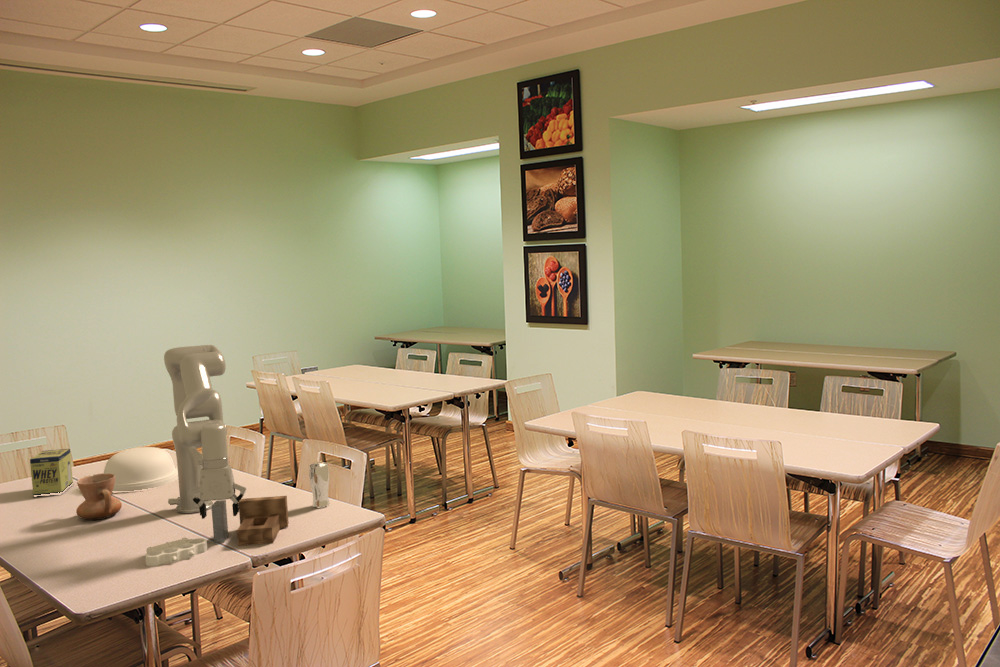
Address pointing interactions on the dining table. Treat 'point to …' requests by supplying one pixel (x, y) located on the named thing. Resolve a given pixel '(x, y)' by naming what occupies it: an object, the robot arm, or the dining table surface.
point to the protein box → (51, 471)
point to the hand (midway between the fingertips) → (219, 516)
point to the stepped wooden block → (261, 519)
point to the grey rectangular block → (219, 521)
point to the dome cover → (141, 469)
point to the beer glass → (319, 483)
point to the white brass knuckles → (175, 551)
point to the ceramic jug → (98, 497)
